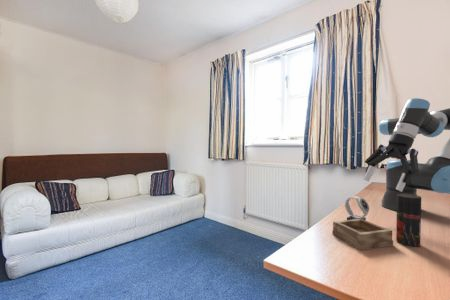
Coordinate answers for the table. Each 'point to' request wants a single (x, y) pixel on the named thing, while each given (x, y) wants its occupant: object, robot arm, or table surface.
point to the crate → (362, 234)
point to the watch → (362, 205)
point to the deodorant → (408, 220)
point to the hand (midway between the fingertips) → (381, 185)
